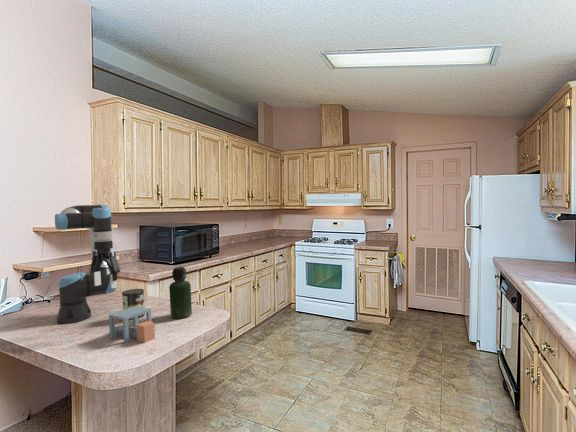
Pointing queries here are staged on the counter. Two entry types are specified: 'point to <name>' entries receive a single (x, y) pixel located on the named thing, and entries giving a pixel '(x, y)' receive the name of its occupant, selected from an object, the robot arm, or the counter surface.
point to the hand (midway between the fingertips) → (105, 286)
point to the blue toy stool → (126, 315)
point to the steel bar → (131, 331)
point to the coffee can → (133, 300)
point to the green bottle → (180, 295)
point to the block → (145, 331)
